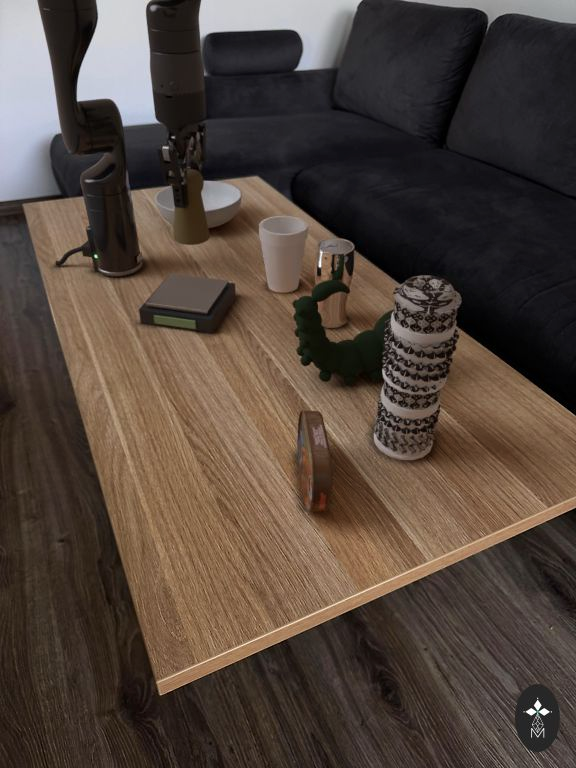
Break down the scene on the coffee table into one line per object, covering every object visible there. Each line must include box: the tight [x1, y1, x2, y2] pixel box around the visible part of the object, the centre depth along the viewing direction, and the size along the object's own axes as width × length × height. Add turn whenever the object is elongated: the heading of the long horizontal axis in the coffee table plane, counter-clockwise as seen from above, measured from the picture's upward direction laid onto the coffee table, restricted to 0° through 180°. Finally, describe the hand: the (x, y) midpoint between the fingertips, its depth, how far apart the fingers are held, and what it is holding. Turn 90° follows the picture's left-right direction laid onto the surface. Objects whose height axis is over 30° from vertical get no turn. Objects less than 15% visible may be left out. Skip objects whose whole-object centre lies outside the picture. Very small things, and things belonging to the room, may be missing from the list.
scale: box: [138, 274, 237, 334], centre depth 113 cm, size 14×14×3 cm
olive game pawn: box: [170, 168, 210, 246], centre depth 96 cm, size 6×6×11 cm
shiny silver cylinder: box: [313, 237, 355, 329], centre depth 107 cm, size 7×7×15 cm
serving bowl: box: [154, 180, 243, 229], centre depth 146 cm, size 21×21×7 cm
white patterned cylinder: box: [373, 274, 463, 461], centre depth 78 cm, size 9×9×25 cm
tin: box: [296, 409, 334, 513], centre depth 76 cm, size 15×3×8 cm, turn 5°
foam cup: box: [258, 215, 309, 294], centre depth 118 cm, size 10×9×13 cm
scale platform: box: [145, 272, 230, 315], centre depth 112 cm, size 12×12×1 cm
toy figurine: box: [291, 280, 394, 386], centre depth 93 cm, size 9×19×25 cm
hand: (188, 199), depth 95 cm, fingers closed on olive game pawn, 5 cm apart
